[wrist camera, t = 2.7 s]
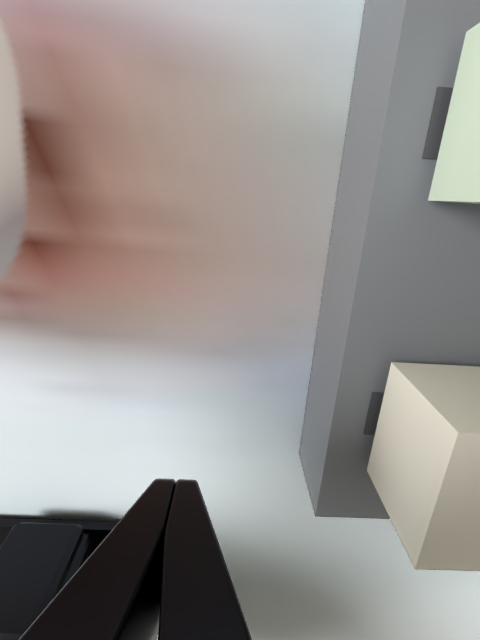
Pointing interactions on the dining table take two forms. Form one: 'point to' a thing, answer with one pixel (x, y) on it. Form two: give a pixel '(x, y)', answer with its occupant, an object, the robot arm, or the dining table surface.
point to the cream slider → (431, 462)
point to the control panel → (390, 247)
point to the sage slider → (461, 132)
